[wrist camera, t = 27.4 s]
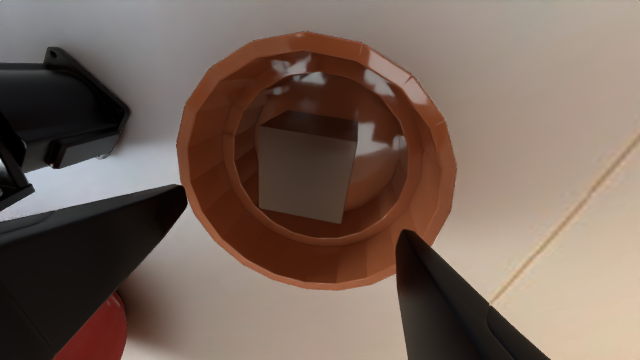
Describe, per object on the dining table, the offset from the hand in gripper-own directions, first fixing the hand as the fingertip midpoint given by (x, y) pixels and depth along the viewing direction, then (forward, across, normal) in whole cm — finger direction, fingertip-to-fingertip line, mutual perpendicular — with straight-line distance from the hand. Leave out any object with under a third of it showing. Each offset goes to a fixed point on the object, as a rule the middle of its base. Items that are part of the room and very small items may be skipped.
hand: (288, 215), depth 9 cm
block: (+8, 0, 0) cm, 8 cm away
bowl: (+9, 0, 0) cm, 9 cm away
